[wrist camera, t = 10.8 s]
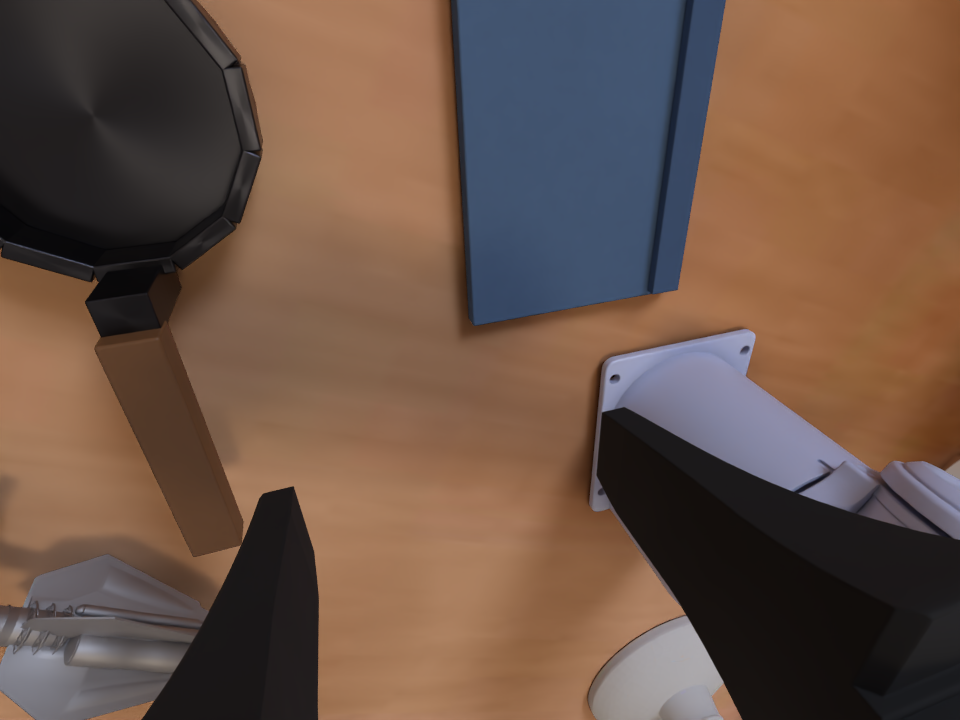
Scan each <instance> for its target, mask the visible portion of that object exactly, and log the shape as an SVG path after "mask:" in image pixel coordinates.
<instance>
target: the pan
mask: <svg viewBox="0 0 960 720" xmlns="http://www.w3.org/2000/svg"><path fill="white" fill-rule="evenodd" d="M240 60H241V56H240V55H239V53H238V52H237V51H236V50H235V48H234V47H233V46H232V45H231V43H230V42H229V40H228V39H227V37H226V36H225V35H224V33H223V32H222V30H221V29H220V28H219V26H218V25H217V23H216V22H215V21H214V19H213V18H212V17H211V16H210V15H209V14H208V13H207V11H206V10H205V9H204V8H203V7H202V6H201V5H200V3H199V2H198V1H197V0H0V249H1V248H2V252H1V257H3V258H6V259H10V260H13V261H17V262H20V263H24V264H28V265H31V266H35V267H38V268H42V269H45V270H49V271H53V272H56V273H60V274H63V275H67V276H70V277H74V278H77V279H81V280H85V281H88V282H92V281H93V280H94V279H95V277H96V279H97V281H98V282H99V283H98V285H97V286H96V287H95V289H94V290H93V291H92V293H91V294H90V295H89V297H88V298H87V300H86V301H85V304H86V306H87V308H88V310H89V312H90V314H91V316H92V319H93V321H94V323H95V325H96V327H97V329H98V332H99V334H100V336H101V337H100V339H99V341H98V342H97V344H96V346H95V348H94V350H95V352H96V354H97V356H98V358H99V361H100V363H101V365H102V367H103V369H104V371H105V373H106V375H107V377H108V379H109V381H110V384H111V386H112V388H113V390H114V392H115V394H116V396H117V398H118V400H119V402H120V405H121V407H122V409H123V411H124V413H125V415H126V417H127V419H128V421H129V423H130V425H131V428H132V430H133V432H134V434H135V436H136V438H137V440H138V442H139V444H140V446H141V449H142V451H143V453H144V455H145V457H146V459H147V461H148V463H149V465H150V467H151V469H152V472H153V474H154V476H155V478H156V480H157V482H158V484H159V486H160V488H161V490H162V493H163V495H164V497H165V499H166V501H167V503H168V505H169V507H170V509H171V511H172V513H173V516H174V518H175V520H176V522H177V524H178V526H179V528H180V530H181V532H182V534H183V537H184V539H185V541H186V543H187V545H188V547H189V549H190V551H191V553H192V555H193V557H197V556H201V555H205V554H209V553H213V552H217V551H221V550H225V549H228V548H232V547H236V546H240V545H241V544H242V533H243V519H242V516H241V514H240V511H239V509H238V506H237V503H236V501H235V498H234V495H233V493H232V490H231V488H230V485H229V482H228V480H227V477H226V475H225V472H224V469H223V467H222V464H221V462H220V459H219V456H218V454H217V451H216V449H215V446H214V443H213V441H212V438H211V435H210V433H209V430H208V428H207V425H206V422H205V420H204V417H203V415H202V412H201V409H200V407H199V404H198V402H197V399H196V396H195V394H194V391H193V388H192V386H191V383H190V381H189V378H188V375H187V373H186V370H185V368H184V365H183V362H182V360H181V357H180V355H179V352H178V349H177V347H176V344H175V342H174V339H173V336H172V334H171V331H170V328H169V326H168V320H169V318H170V315H171V313H172V310H173V308H174V305H175V303H176V300H177V298H178V295H179V293H180V290H181V284H180V281H179V278H178V275H177V273H176V272H177V270H178V267H179V268H180V269H185V268H186V267H187V266H189V265H190V264H191V263H192V262H194V261H195V260H196V259H198V258H199V257H200V256H202V255H203V254H204V253H205V252H207V251H208V250H209V249H211V248H212V247H213V246H215V245H216V244H217V243H219V242H220V241H221V240H222V239H224V238H225V237H226V236H228V235H229V234H230V233H232V232H233V231H234V230H235V229H236V227H237V223H240V222H241V219H242V216H243V213H244V210H245V207H246V204H247V201H248V198H249V195H250V192H251V189H252V186H253V182H254V179H255V176H256V173H257V170H258V167H259V164H260V161H261V157H262V151H263V149H262V143H263V139H262V135H261V130H260V126H259V121H258V115H257V109H256V103H255V99H254V96H253V93H252V89H251V86H250V83H249V79H248V74H247V70H246V66H245V65H244V64H241V61H240Z"/></svg>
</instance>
